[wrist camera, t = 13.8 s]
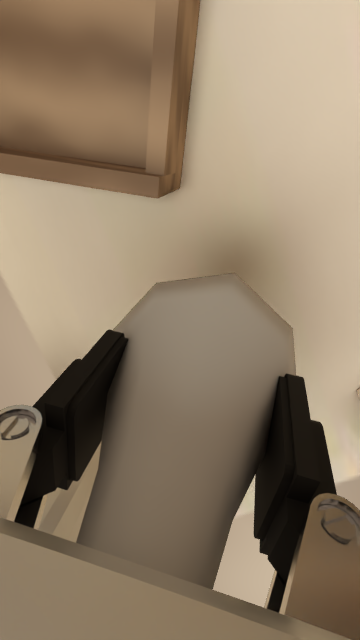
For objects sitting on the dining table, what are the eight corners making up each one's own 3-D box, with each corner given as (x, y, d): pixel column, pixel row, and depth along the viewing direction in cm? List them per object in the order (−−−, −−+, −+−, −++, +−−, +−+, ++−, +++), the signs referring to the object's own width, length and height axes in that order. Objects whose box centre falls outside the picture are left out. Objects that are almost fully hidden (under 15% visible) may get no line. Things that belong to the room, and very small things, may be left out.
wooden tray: (179, 188, 25) (157, 198, 20) (-6, 159, 28) (-69, 161, 22) (208, -77, 19) (186, -164, 13) (-40, -86, 21) (-142, -164, 16)
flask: (87, 316, 14) (-218, 601, 5) (248, 234, 11) (176, 580, 2) (174, 439, 16) (65, 790, 7) (328, 400, 13) (458, 910, 4)
